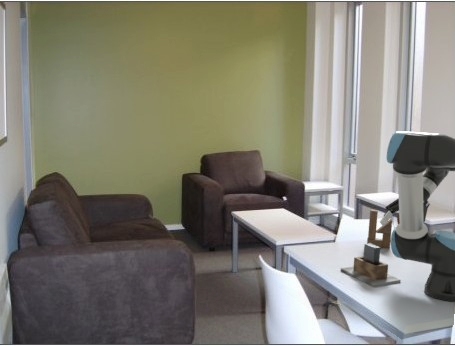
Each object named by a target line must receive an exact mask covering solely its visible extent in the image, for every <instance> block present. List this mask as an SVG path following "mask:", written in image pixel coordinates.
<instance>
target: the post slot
mask: <svg viewBox="0 0 455 346" xmlns="http://www.w3.org/2000/svg"><path fill="white" fill-rule="evenodd" d="M363 258H364V255H363V256H356V257H354V259H353V266H349V267H341V268H340V272H343V273H345V274H346V275H348V276H351V277H353V278H354V279H357V280H359V281H361V282H362V283H365V284H367V285H368V286H370V287H373V288H375V287H381V286H387V285H392V284H398V283H401V281H402V280H401V279H400V278H398V277H395V276H394V275H391V274H389V273H388V271H389V264H388V263H386V262H384V261H380V260H379V265H373V264H371V263H369V262H366V261H364V260H363Z"/></svg>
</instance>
